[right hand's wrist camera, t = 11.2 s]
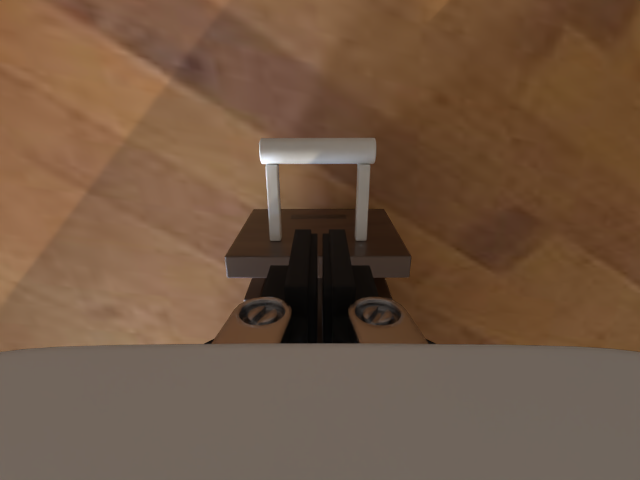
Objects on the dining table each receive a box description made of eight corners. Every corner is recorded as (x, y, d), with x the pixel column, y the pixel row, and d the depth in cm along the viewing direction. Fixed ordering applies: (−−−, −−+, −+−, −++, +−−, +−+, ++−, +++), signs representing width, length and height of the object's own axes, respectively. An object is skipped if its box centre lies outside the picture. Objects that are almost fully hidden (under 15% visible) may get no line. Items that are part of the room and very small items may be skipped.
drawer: (247, 129, 23) (211, 143, 15) (389, 128, 23) (423, 143, 15) (267, 392, 31) (250, 486, 23) (371, 392, 31) (388, 486, 23)
